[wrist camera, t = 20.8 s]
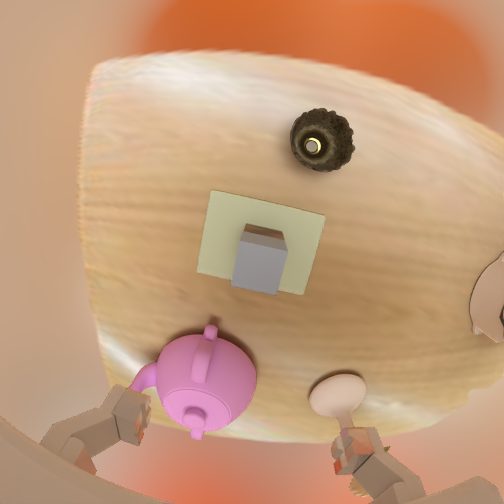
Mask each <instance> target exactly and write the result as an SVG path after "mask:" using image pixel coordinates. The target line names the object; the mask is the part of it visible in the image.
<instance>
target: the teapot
mask: <svg viewBox="0 0 504 504" xmlns="http://www.w3.org/2000/svg"><path fill="white" fill-rule="evenodd" d="M217 332H218V329H217V327H215V326H214V325H206V327H205V330H204V334H203V335H197V334H195V335H187V336H183V337H180V338H177V339H175V340H173V341H172V342H170V343H169V344H168V345H167V346H166V347H165V348H164V349H163V350H162V352H161V354H160V356H159V358H158V361H157V362H154V363H150V364H148V365H145V366H144V367H143V368H142V369H141V370H140V371H139V372H138V374H137V375H136V377H135V379H134V381H133V382H132V384H131V385H130V387H128V388H129V389H131V390H134V391H137V392H139V393H141V392H142V391H143V390H144V389H145V388H148V387H153V386H156V387H157V392H158V395H159V398H160V400H161V403H162V405H163V407H164V409H165V411H166V413H167V414H168V415H169V416H170V417H171V418H172V419H173V420H174V421H175V422H177V423H178V424H180V425H182V426H184V427H186V428H189V429H191V432H190V436H191V437H192V438H193V439H198V440H200V439H202V438H203V434H204V431H215V430H219V429H221V428H223V427H225V426H227V425H228V424H230V423H231V422H232V421H234V420H235V419H236V418H237V417H238V416H240V415H241V414H242V413H243V411H244V410H245V409H246V408H247V406H248V405H249V403H250V401H251V399H252V397H253V395H254V392H255V388H256V381H257V376H256V371H255V368H254V365H253V363H252V362H251V360H250V359H249V357H248V356H247V355H246V354H245V353H244V352H243V351H242V350H241V349H240V348H238V347H237V346H236V345H234V344H232V343H230V342H228V341H226V340H224V339H221V338H218V337H217Z"/></svg>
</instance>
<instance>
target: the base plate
mask: <svg viewBox="0 0 504 504" xmlns="http://www.w3.org/2000/svg"><path fill="white" fill-rule="evenodd" d="M325 218H326V216H325V215H322V214H318V213H314V212H310V211H306V210H302V209H298V208H294V207H290V206H285V205H281V204H277V203H273V202H268V201H264V200H260V199H255V198H251V197H246V196H241V195H237V194H232V193H227V192H222V191H217V190H211V193H210V199H209V204H208V209H207V214H206V219H205V225H204V230H203V236H202V242H201V247H200V253H199V259H198V265H197V271H196V272H198V273H202V274H207V275H211V276H215V277H220V278H224V279H228V280H232V276H233V271H234V266H235V261H236V257H237V252H238V247H239V243H240V239H241V236H242V233H243V231H244V228H245V225H246V223H248V224H252V225H256V226H261V227H265V228H270V229H274V230H278V231H282V233H283V236H284V239H285V243H286V246H287V249H288V254H287V258H286V262H285V265H284V269H283V273H282V277H281V280H280V284H279V287H278V290H279V291H284V292H289V293H294V294H298V295H304V292H305V288H306V285H307V282H308V279H309V275H310V272H311V268H312V265H313V262H314V258H315V255H316V251H317V248H318V244H319V241H320V237H321V233H322V230H323V226H324V222H325Z"/></svg>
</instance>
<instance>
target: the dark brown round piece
mask: <svg viewBox="0 0 504 504" xmlns="http://www.w3.org/2000/svg"><path fill="white" fill-rule="evenodd" d="M353 134H354V133H353V130H352V129H351V128H350V127H349V123H348V121H347V120H346V119H345V118H344V117H342V116H339V115H336V112H335V111H333V110H332V111H330V112H327V110H326V109H325V108H319V109H316V108H315V109H313V110H311V111H309V112H308V113H307V112H304V113H303V114H302V115H301V116H300V117H299V118H297V119H296V120H295V122H294V124H293V126H292V130H291V132H290V138H291V147H292V150H293V153H294V155H295V156H296V158H297V159H298V160H299V161H300V162H301V163H302V164H304V165H305V166H307V167H308V168H310V169H313V170H316V171H320V172H330V171H332V170H338V169H340V167H341V166H342V165H345V164H346V163H348V162H349V161H350V159H351V155H352V153H353V152H354V150H355V146H354V145H352V142H353V140H352V135H353ZM309 141H314V142H316V143H317V146H318V148H317V150H316V151H315V152H309V151H308V150H307V148H306V144H307V142H309Z"/></svg>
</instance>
